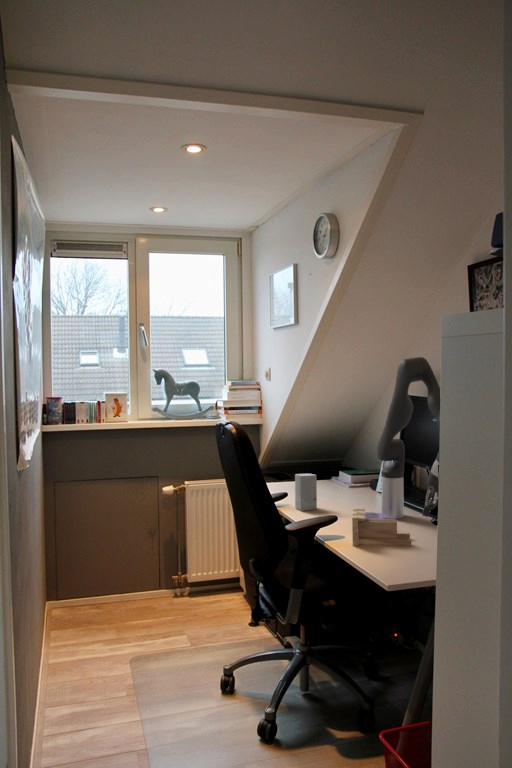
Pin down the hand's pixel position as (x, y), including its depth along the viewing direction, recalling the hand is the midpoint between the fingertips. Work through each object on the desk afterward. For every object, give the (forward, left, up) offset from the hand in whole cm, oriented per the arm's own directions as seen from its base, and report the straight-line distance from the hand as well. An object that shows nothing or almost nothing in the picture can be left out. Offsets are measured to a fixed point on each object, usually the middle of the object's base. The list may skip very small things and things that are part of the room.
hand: (424, 515), depth 234 cm
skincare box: (-44, -48, -10) cm, 66 cm away
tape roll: (-16, -19, -10) cm, 27 cm away
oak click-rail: (+3, -16, -10) cm, 19 cm away
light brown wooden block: (+3, -17, -10) cm, 20 cm away
